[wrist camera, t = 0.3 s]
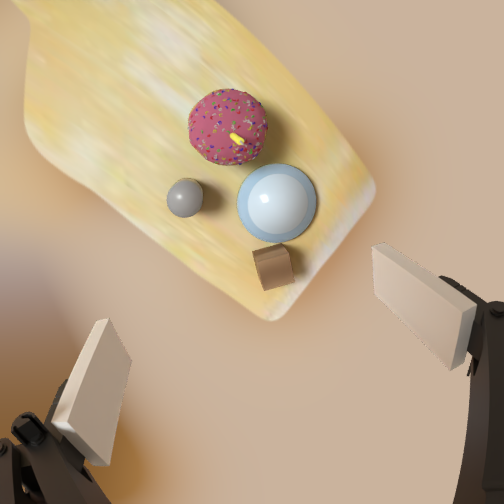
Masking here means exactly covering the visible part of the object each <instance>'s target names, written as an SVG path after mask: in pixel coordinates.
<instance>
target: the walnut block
mask: <svg viewBox="0 0 504 504" xmlns="http://www.w3.org/2000/svg"><path fill="white" fill-rule="evenodd" d="M252 253H253V257H254V261H255V265H256V269H257V273H258V276H259V279H260V282H261V284H262V287H263V289H264V291H266V290H269V289H273V288H276V287H280V286H283V285H286V284H290V283H293V282H295V280H294V275H293V270H292V265H291V260H290V256H289V253H288V251H287V250H286V249H285V247H284V246H283V245H282V243H280V244H277V245H273V246H270V247H266V248H262V249H259V250H255V251H252Z"/></svg>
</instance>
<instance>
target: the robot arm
mask: <svg viewBox="0 0 504 504" xmlns="http://www.w3.org/2000/svg"><path fill="white" fill-rule="evenodd" d="M371 248H372V262H373V280H374V295H375V296H376V297H377V298H379V299H380V300H381V301H382V302H383V303H384V304H385V305H386V306H387V307H388V308H389V309H390V310H391V311H392V312H393V313H394V314H395V315H396V316H397V317H398V318H399V319H400V320H401V321H402V322H403V323H404V324H405V325H406V326H407V327H408V328H409V329H410V330H411V331H412V332H413V333H414V334H415V335H416V336H417V337H418V338H419V339H420V340H421V341H422V342H423V343H424V344H425V345H426V346H427V347H428V348H429V350H430V351H431V352H432V353H433V354H434V355H435V356H436V357H437V358H438V359H439V360H440V361H441V362H442V363H443V364H444V365H445V366H446V367H447V368H448V369H449V370H450V371H451V370H453V369H454V368H456V367H458V366H459V365H461V364H463V363H464V360H465V357H466V353H467V351H468V352H469V353H470V354H471V355H472V360H471V363H470V366H469V370H468V373H467V376H469V374H470V372H471V380H470V400H469V413H468V424H467V432H466V440H465V447H464V453H463V459H462V465H461V470H460V475H459V480H458V485H457V489H456V493H455V497H454V501H453V504H504V302H499V301H493V302H489V303H486V302H485V301H484V300H482V299H481V298H480V297H478V296H477V295H475V294H474V293H472V292H471V291H469V290H466V288H465V287H464V286H462V285H460V284H459V283H457V282H456V281H455V280H453V279H451V278H448V277H445V276H439V277H437V276H436V275H434V274H433V273H431V272H430V271H428V270H427V269H425V268H424V267H422V266H421V265H419V264H418V263H416V262H415V261H413V260H412V259H410V258H408V257H407V256H405V255H404V254H402V253H401V252H399V251H397V250H396V249H394V248H393V247H391V246H389V245H388V244H386V243H385V242H384V243H380V244H377V245H374V246H372V247H371ZM131 363H132V360H131V358H130V356H129V354H128V353H127V351H126V349H125V347H124V346H123V344H122V342H121V340H120V338H119V336H118V334H117V332H116V330H115V328H114V326H113V324H112V322H111V320H110V318H106V319H102V320H98V321H96V323H95V325H94V327H93V329H92V331H91V333H90V335H89V337H88V339H87V341H86V343H85V345H84V347H83V349H82V351H81V353H80V355H79V357H78V360H77V362H76V364H75V366H74V368H73V371H72V373H71V375H70V377H69V379H66V380H65V381H64V382H63V384H62V385H61V386H60V387H59V389H58V391H57V394H56V396H55V397H56V398H54V401H53V405H51V408H50V410H49V412H48V415H47V417H46V420H45V422H44V425H43V424H42V422H41V421H40V420H39V419H38V418H37V417H36V415H35V414H34V413H32V412H25V413H23V414H21V415H19V416H18V417H17V418H16V419H15V421H14V422H13V424H12V427H11V433H12V434H13V435H14V436H15V437H16V438H17V439H18V440H19V441H20V442H21V443H22V444H20V445H16V446H15V445H14V444H13V443H12V442H11V441H10V440H9V439H7V438H2V439H0V504H111V502H110V501H109V500H108V498H107V497H106V496H105V494H104V493H103V491H102V490H101V488H100V487H99V485H98V484H97V483H96V481H95V480H94V478H93V476H92V475H91V473H90V472H89V470H88V469H87V468H86V467H85V466H84V465H83V464H84V460H85V458H86V459H87V460H88V461H89V462H90V463H91V464H92V465H94V466H109V465H110V460H111V454H112V448H113V443H114V438H115V433H116V428H117V423H118V418H119V414H120V408H121V404H122V400H123V396H124V391H125V387H126V383H127V378H128V374H129V371H130V367H131ZM22 485H23V486H24V487H25V492H24V491H23V488H22Z"/></svg>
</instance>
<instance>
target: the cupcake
mask: <svg viewBox="0 0 504 504" xmlns="http://www.w3.org/2000/svg"><path fill="white" fill-rule="evenodd" d="M188 126H189V127H188V129H189V139H190V143H191V144H192V146H193V147H194V148H195V149H196V150H197V151H198V152H199V153H200V154H201V155H202V156H203V157H204V158H205V159H206V160H208V161H210V162H213V163H215V164H219V165H226V166H228V165H237V164H239V165H241V164H242V163H244V162H247V161H250V160H252V159H255V157H256V156H257V155H258V154H259V153H260V151H261V150H262V147H263V143H264V140H265V137H266V133H267V129H268V127H267V120H266V114H265V110H264V109H263V107H262V105H261V103H260V102H258V101H257V100H256V99H255V98H254V97H252V96H251V95H250V94H248V93H247V92H241V91H238V90H234V89H220V90H216V91H213V92H211V93H209V94H208V95H207V96H205V97H204V98H203V99H202V100H200V101H199V102H198V103H197V104H196V105H195V106H194V107H193V109H192V110H191V112H190V114H189V118H188Z"/></svg>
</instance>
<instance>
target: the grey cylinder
mask: <svg viewBox="0 0 504 504" xmlns="http://www.w3.org/2000/svg"><path fill="white" fill-rule="evenodd" d="M202 203H203V190H202V187H201V185H200V184H199V183H198V182H197V181H195V180H194V179H191V178H184V179H180V180H178V181H177V182H176V183H175V184H174V185H173V186H172V188H171V189H170V190H169V192H168V195H167V205H168V207H169V209H170V211H171V212H172V213H173V214H175V215H176V216H179V217H183V218H186V217H191V216H193V215H195V214H196V213H197V212H198V211H199V210H200V208H201V206H202Z"/></svg>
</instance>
